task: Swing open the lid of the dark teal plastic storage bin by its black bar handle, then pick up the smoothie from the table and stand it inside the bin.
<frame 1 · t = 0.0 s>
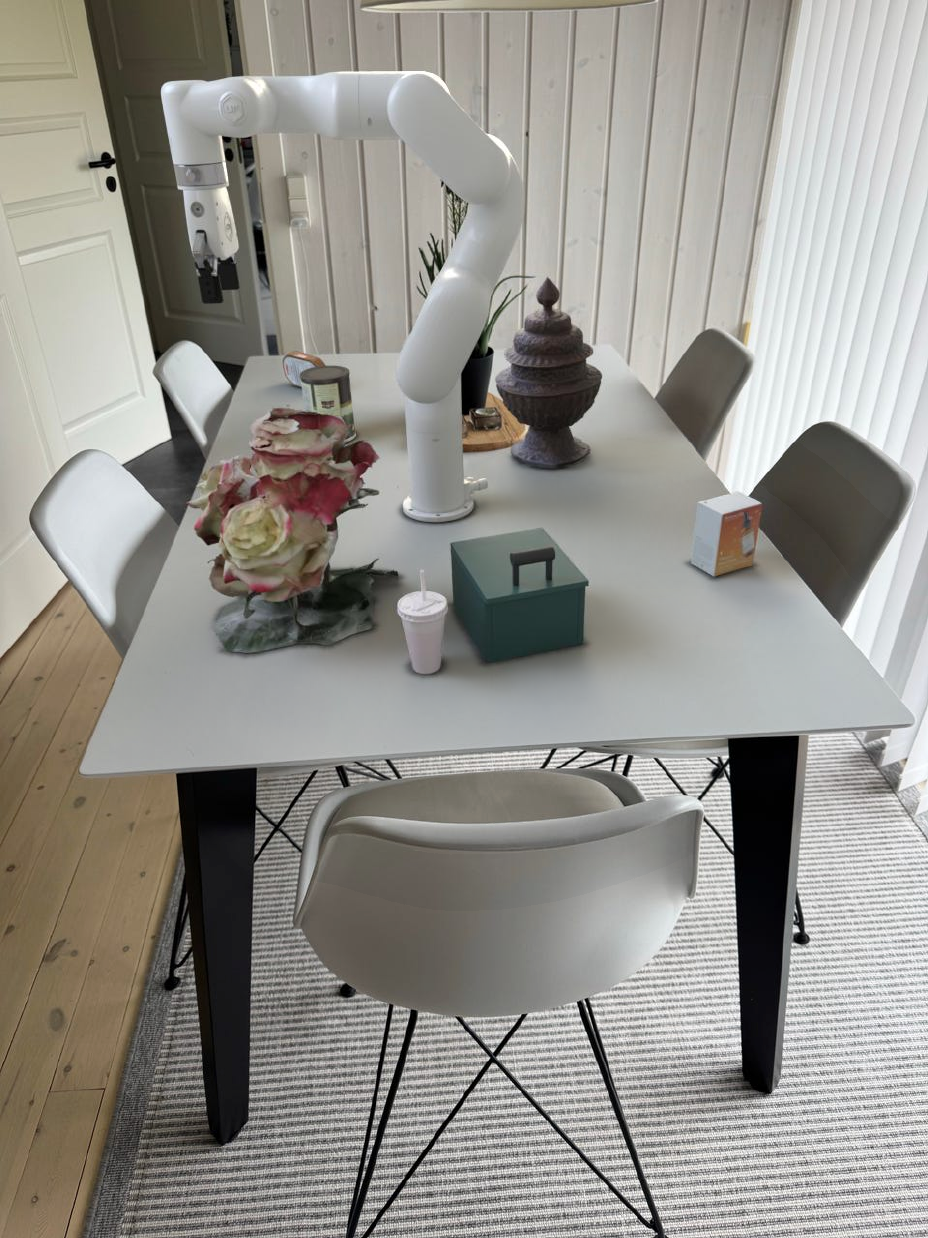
hand: (221, 295, 143), 37 cm above the table, tool pointing down, fingers open, 9 cm apart
smoothie: (426, 667, 119), on the table
tin: (307, 388, 225), on the table
bin lid: (516, 548, 120), point 12 cm above the table, hinge at 0.0°
small box: (721, 565, 140), on the table
rose bouquet: (298, 612, 132), on the table
bin: (515, 623, 127), on the table
decorative urn: (547, 458, 180), on the table
coffee can: (331, 438, 194), on the table
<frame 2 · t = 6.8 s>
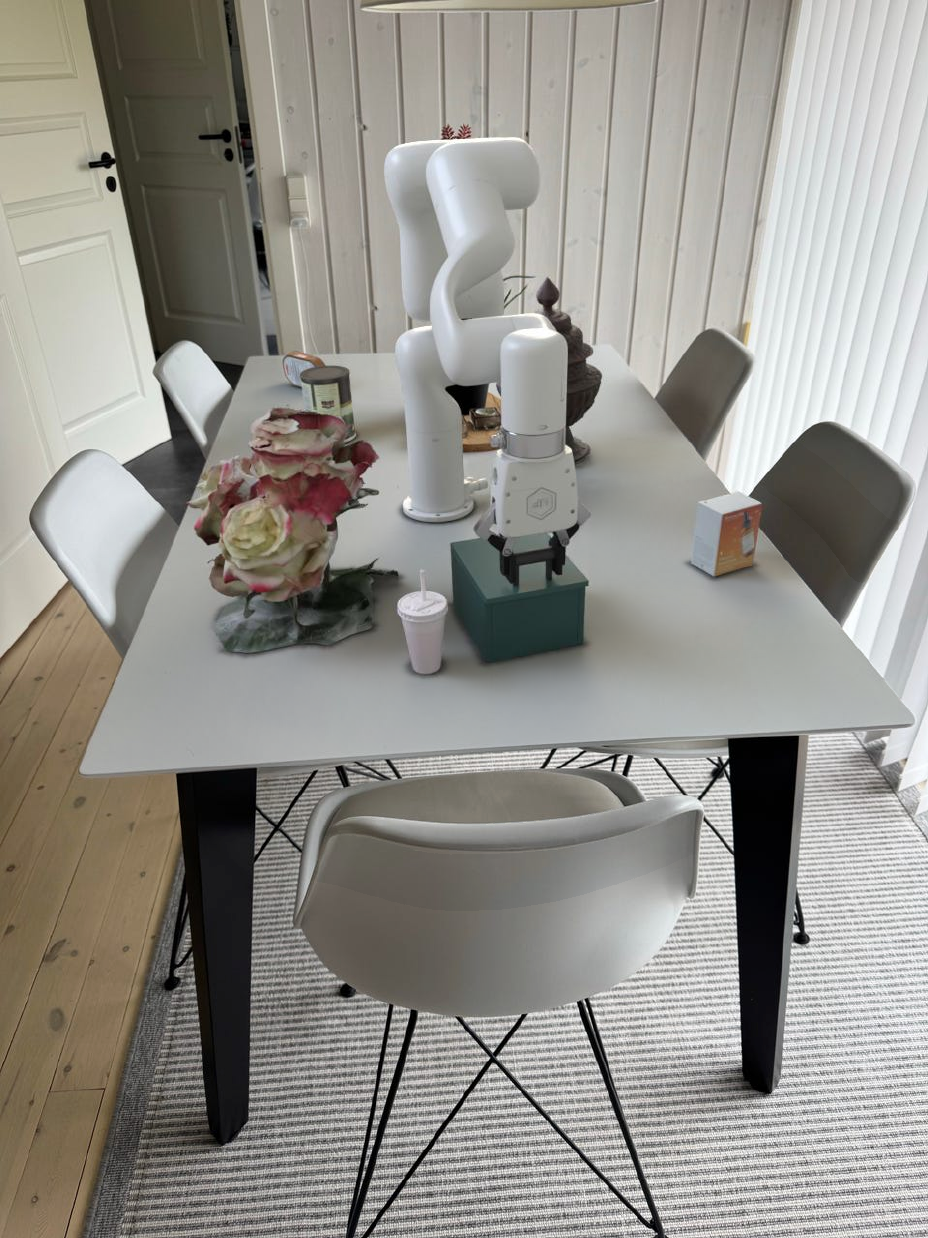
hand: (532, 573, 116), 11 cm above the table, tool pointing down, fingers closed on bin lid, 5 cm apart
bin lid: (516, 548, 120), point 12 cm above the table, hinge at 0.0°, touching gripper
everything else where it was.
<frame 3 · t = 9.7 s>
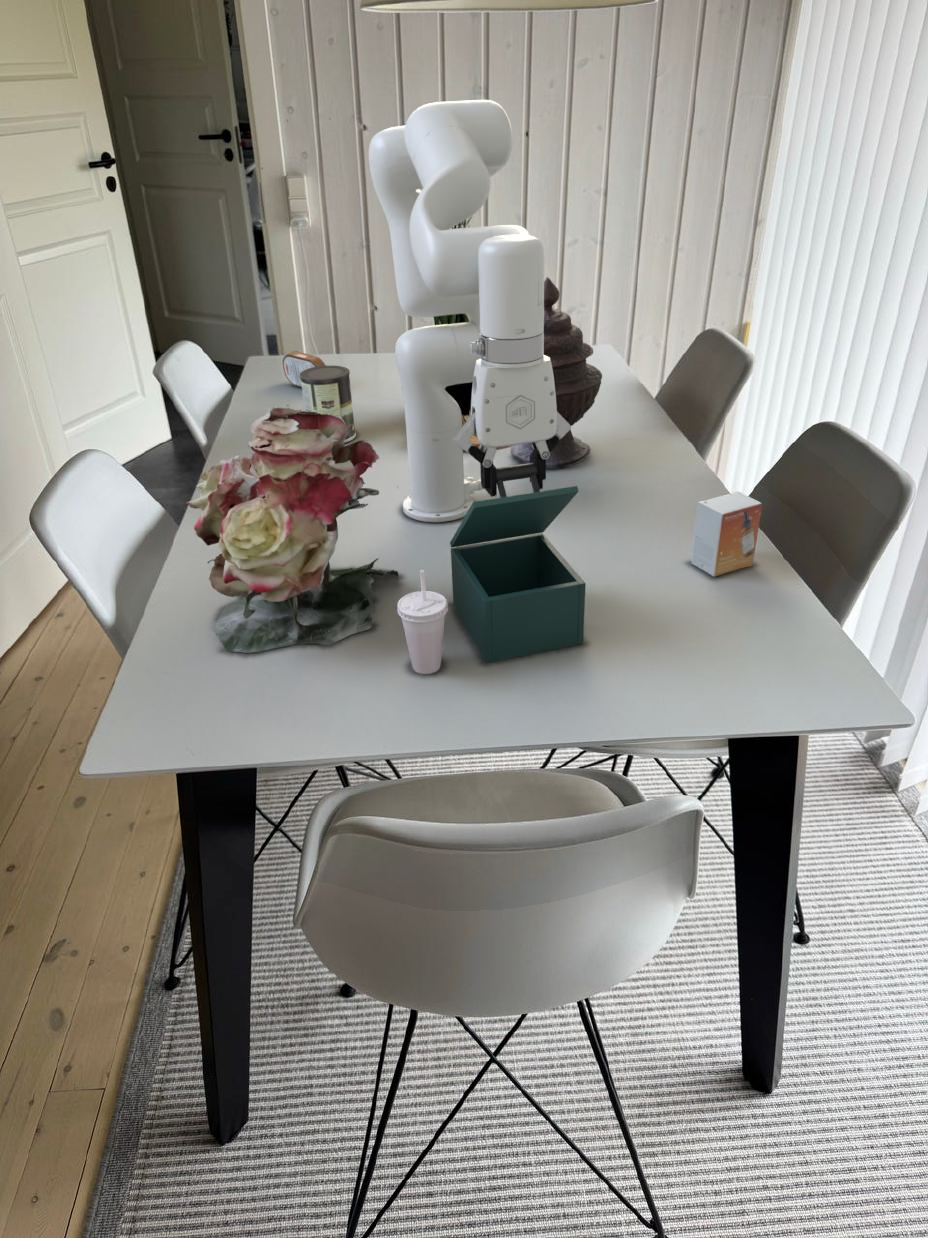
hand: (513, 487, 117), 20 cm above the table, tool pointing down, fingers closed on bin lid, 5 cm apart
bin lid: (506, 502, 121), point 17 cm above the table, hinge at 42.9°, touching gripper
everything else where it was.
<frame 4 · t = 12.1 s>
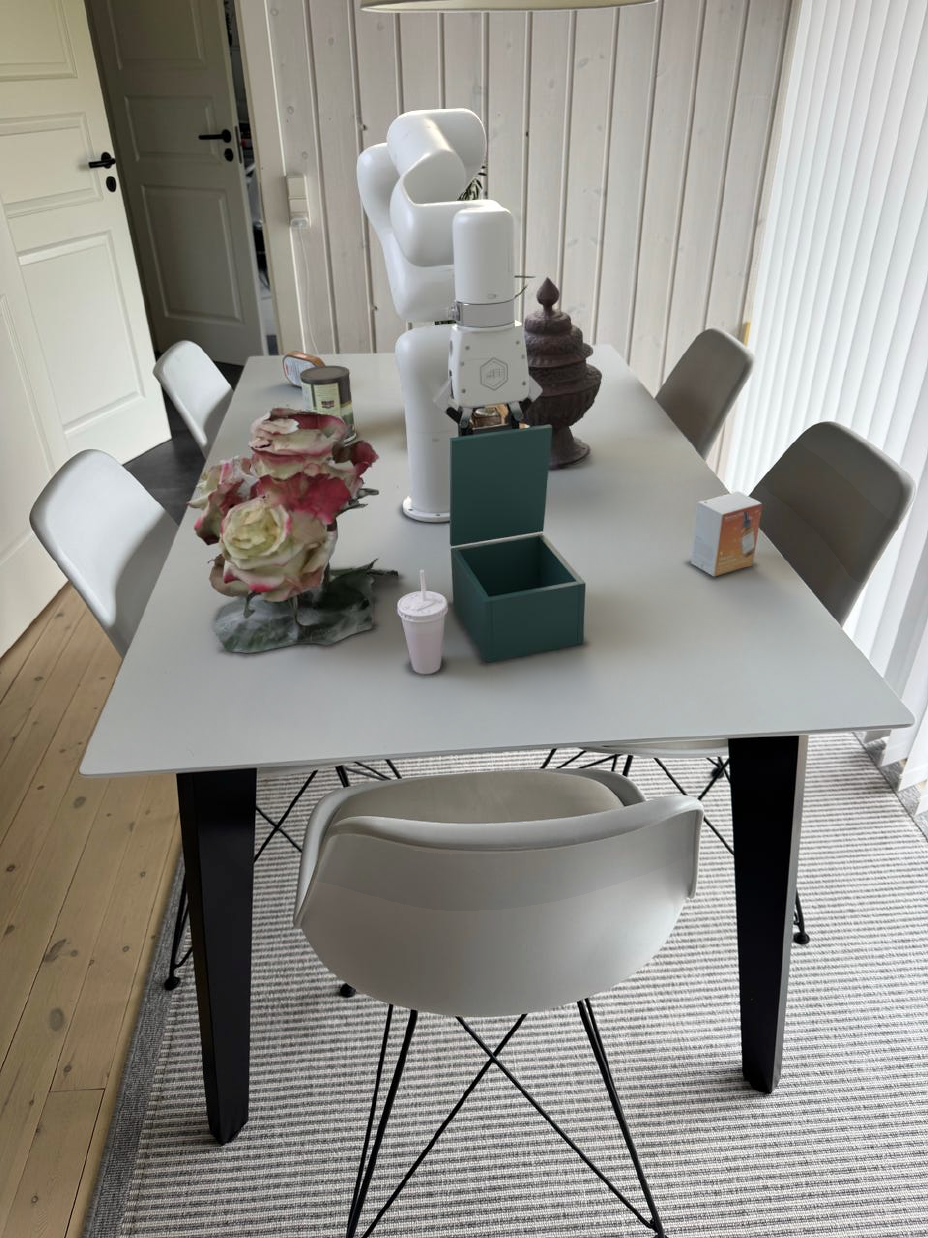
hand: (489, 448, 124), 22 cm above the table, tool pointing down, fingers closed on bin lid, 5 cm apart
bin lid: (494, 478, 125), point 18 cm above the table, hinge at 80.6°, touching gripper
everything else where it was.
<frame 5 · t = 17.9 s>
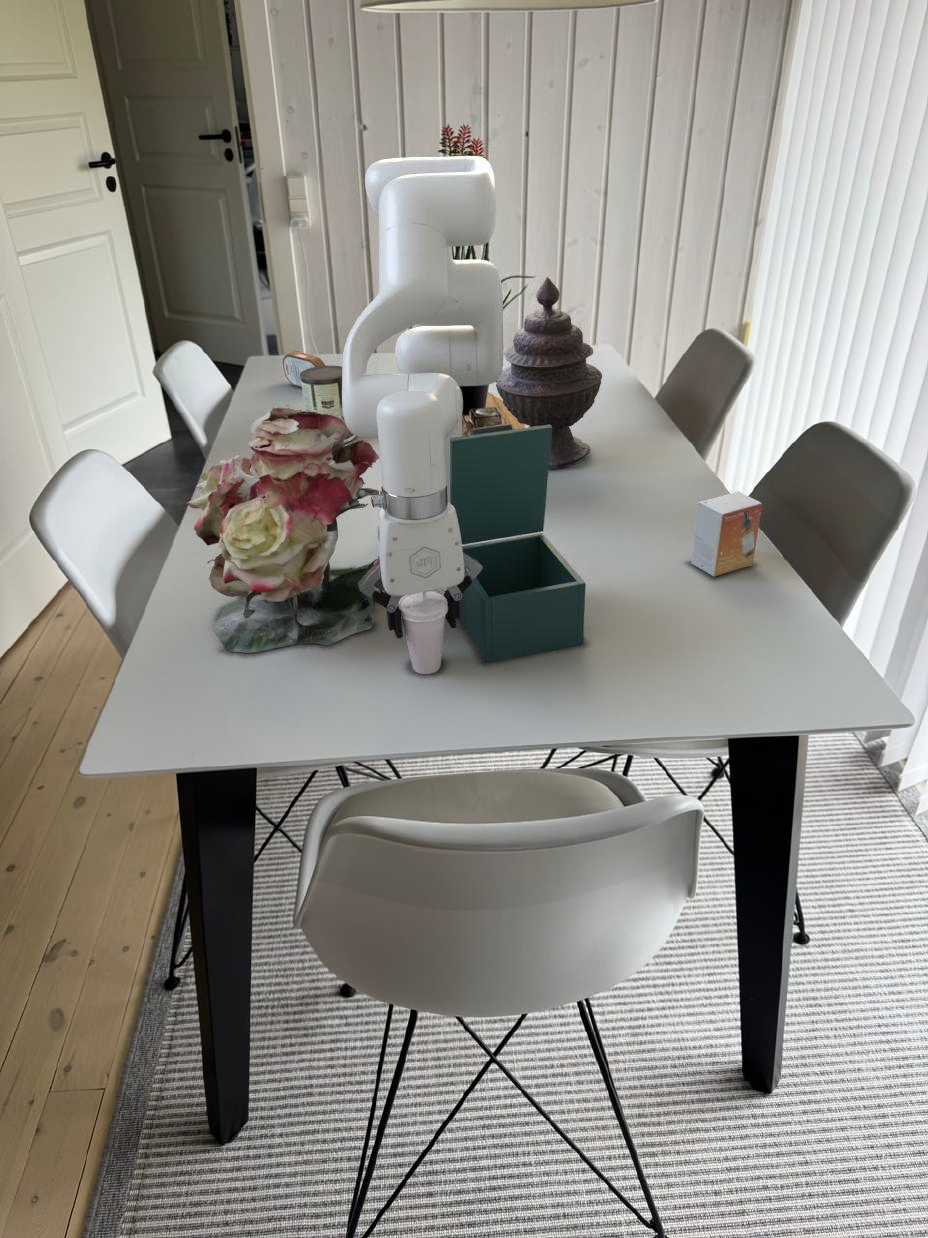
hand: (424, 627, 116), 6 cm above the table, tool pointing down, fingers closed on smoothie, 6 cm apart
smoothie: (426, 667, 119), on the table, touching gripper
bin lid: (494, 478, 125), point 18 cm above the table, hinge at 80.5°
everything else where it was.
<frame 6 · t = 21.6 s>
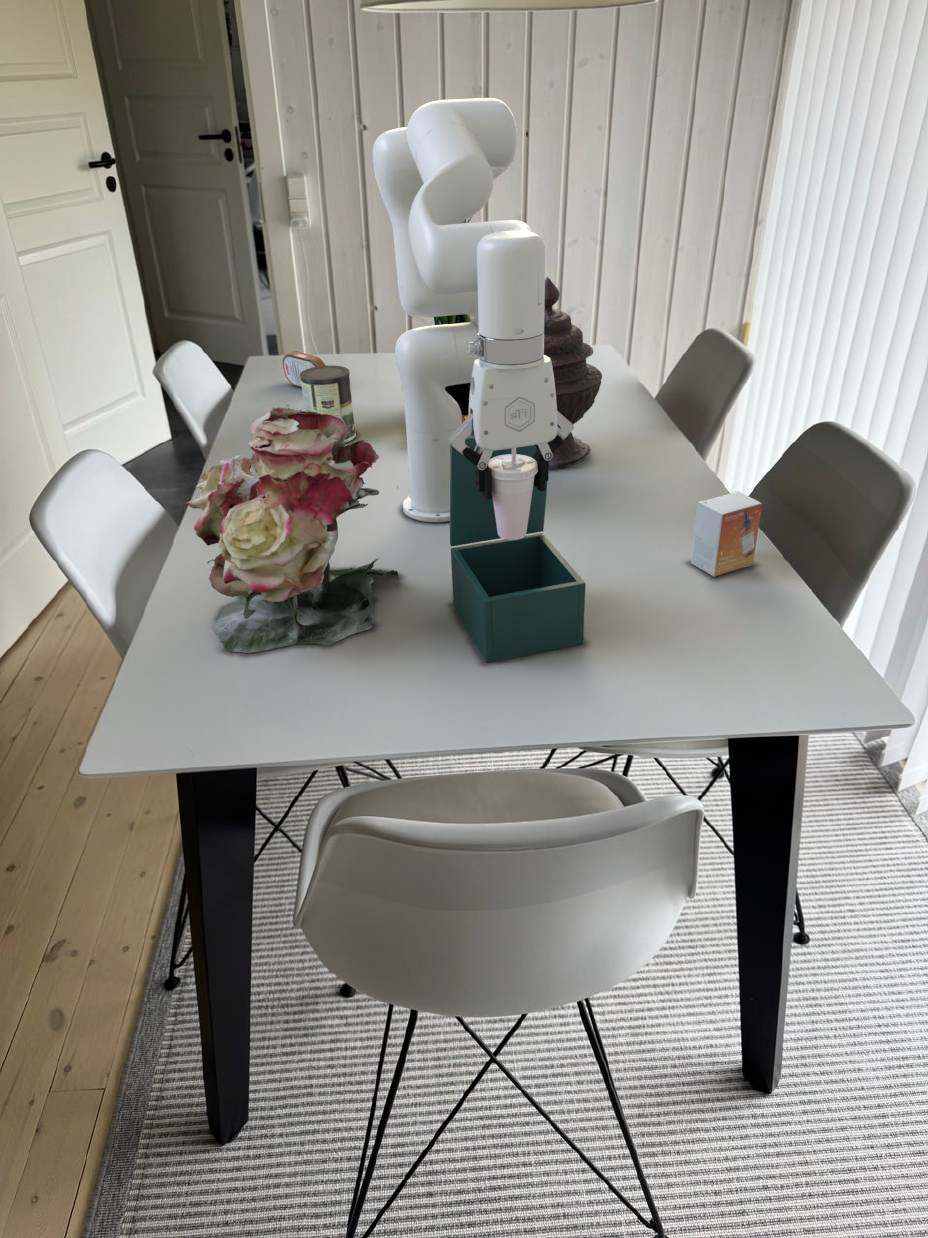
hand: (512, 490, 114), 21 cm above the table, tool pointing down, fingers closed on smoothie, 6 cm apart
smoothie: (511, 534, 117), point 15 cm above the table, touching gripper
everything else where it was.
when the fingers open (7 cm above the table, at t = 25.5 s): smoothie stays where it is, resting on bin.
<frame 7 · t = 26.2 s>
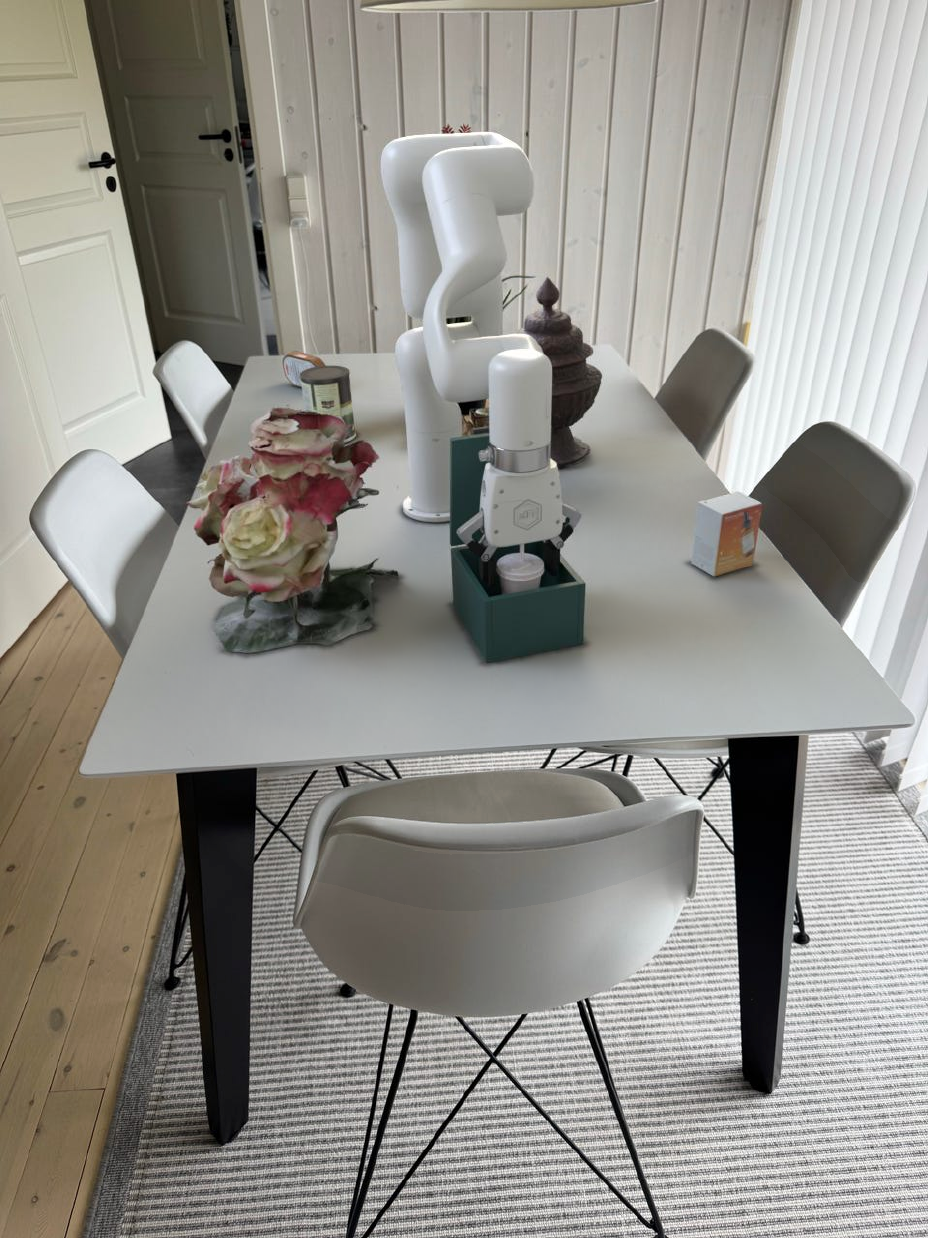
hand: (519, 576, 121), 9 cm above the table, tool pointing down, fingers open, 8 cm apart
smoothie: (519, 626, 125), point 1 cm above the table, touching bin
everything else where it was.
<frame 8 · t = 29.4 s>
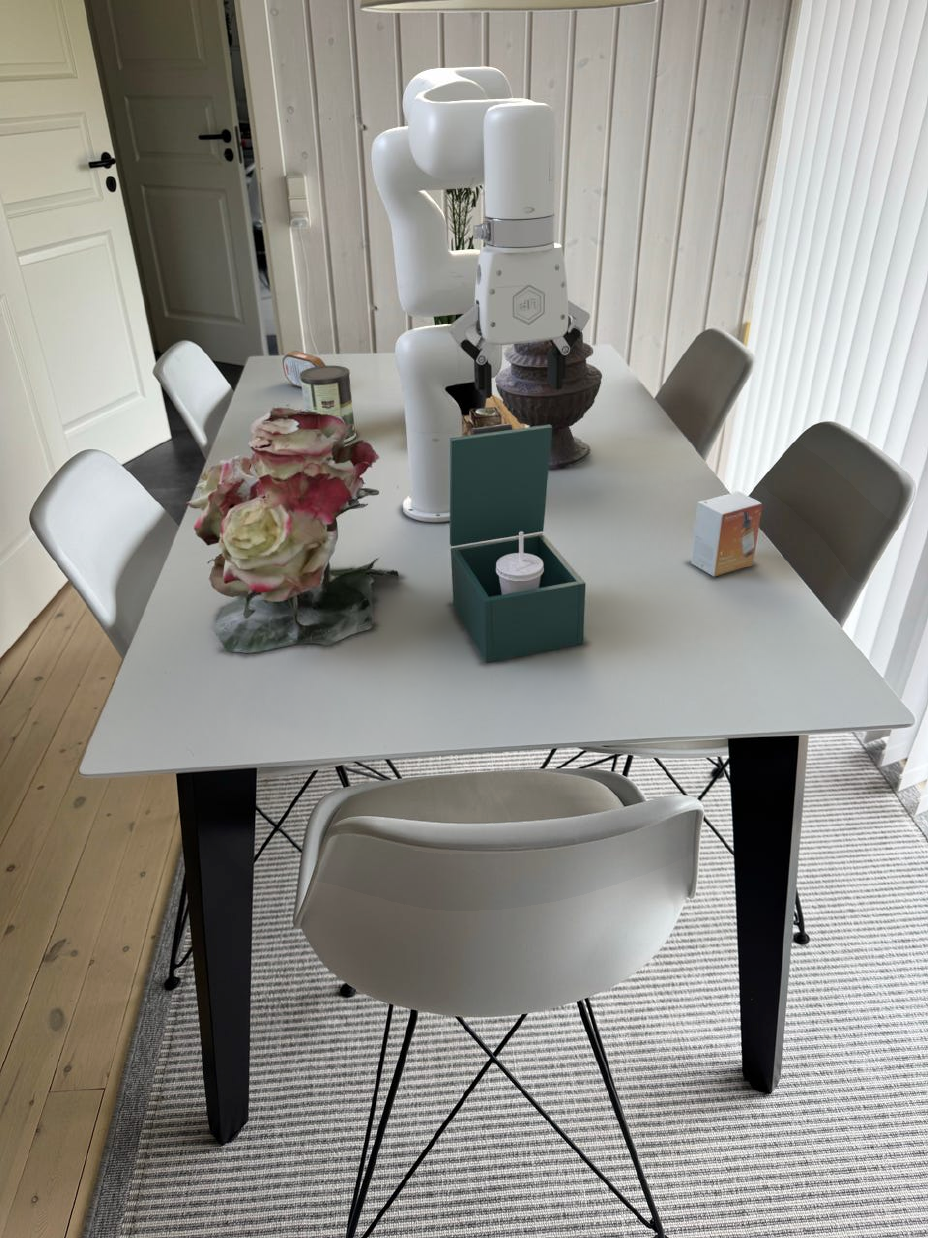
hand: (520, 389, 108), 34 cm above the table, tool pointing down, fingers open, 8 cm apart
nothing on the table moved.
at the end: bin lid at +80° (first picture: +0°); smoothie inside the target area in the bin (1.9 cm from its centre), point 0.7 cm above the bin's base; smoothie tilted 0° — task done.
